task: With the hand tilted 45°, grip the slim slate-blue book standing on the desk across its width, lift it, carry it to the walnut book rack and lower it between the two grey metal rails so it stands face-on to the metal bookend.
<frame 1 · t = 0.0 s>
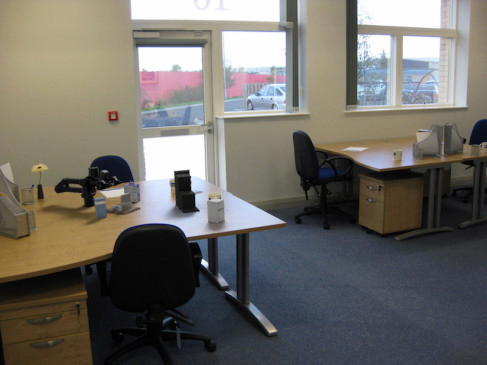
hand: (117, 184, 305), 17 cm above the table, tool horizontal, fingers open, 9 cm apart
book: (101, 217, 289), on the table
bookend: (187, 208, 304), on the table
supplement box: (216, 221, 272), on the table
ink cartridge box: (132, 201, 327), on the table
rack: (122, 210, 304), on the table
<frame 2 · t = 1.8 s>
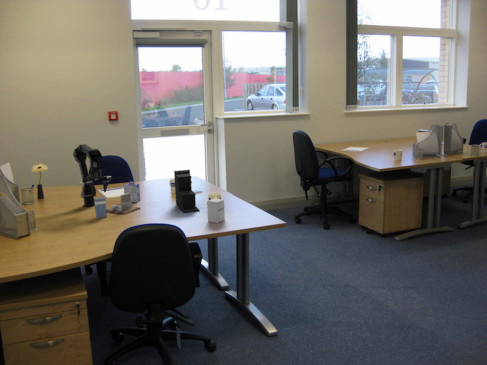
hand: (98, 192, 301), 12 cm above the table, tool pointing down, fingers open, 9 cm apart
nothing on the table moved.
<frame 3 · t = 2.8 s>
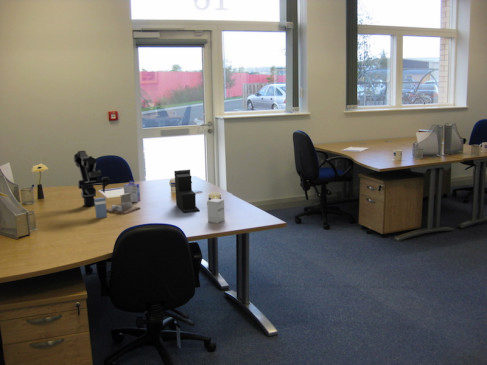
hand: (96, 193, 292), 14 cm above the table, tool tilted 45°, fingers open, 9 cm apart
nothing on the table moved.
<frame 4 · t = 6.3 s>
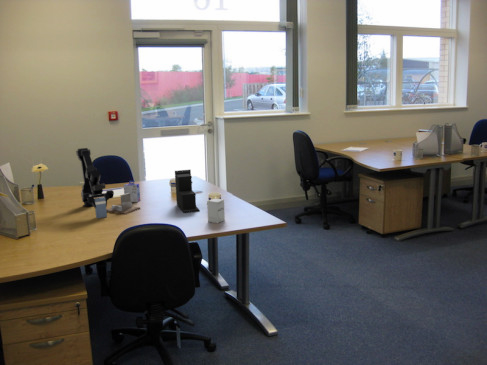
hand: (101, 207, 286), 7 cm above the table, tool tilted 45°, fingers closed on book, 6 cm apart
book: (101, 217, 289), on the table, touching gripper
everything else where it was.
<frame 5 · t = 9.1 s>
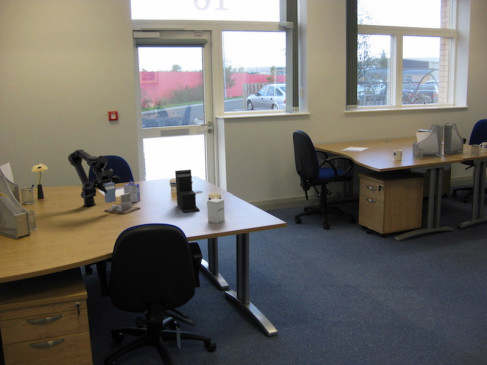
hand: (110, 192, 296), 13 cm above the table, tool tilted 45°, fingers closed on book, 6 cm apart
book: (110, 201, 298), point 7 cm above the table, touching gripper
everything else where it was.
when the fingers open (8 cm above the table, at t = 11.9 s): book stays where it is, resting on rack.
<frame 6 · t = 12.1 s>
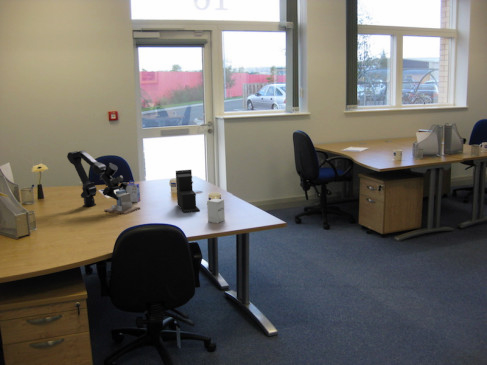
hand: (123, 198, 302), 8 cm above the table, tool tilted 45°, fingers open, 8 cm apart
book: (122, 208, 304), point 1 cm above the table, touching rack
everything else where it was.
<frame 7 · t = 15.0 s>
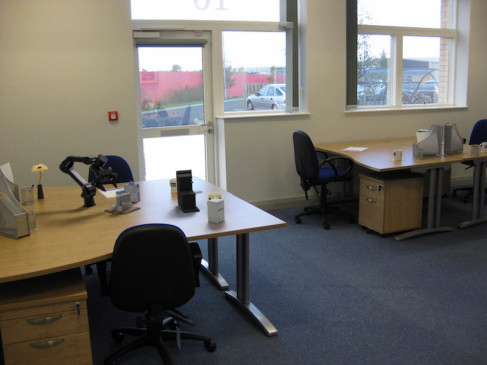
hand: (111, 189, 305), 13 cm above the table, tool tilted 40°, fingers open, 9 cm apart
nothing on the table moved.
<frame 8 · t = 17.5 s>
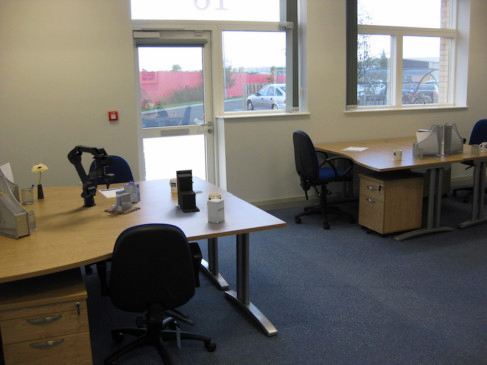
hand: (102, 188, 308), 13 cm above the table, tool pointing down, fingers open, 9 cm apart
nothing on the table moved.
at the end: book 0.0 cm off-centre on the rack, point 1.0 cm above the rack's base; book tilted 0°; the gripper is holding nothing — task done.
